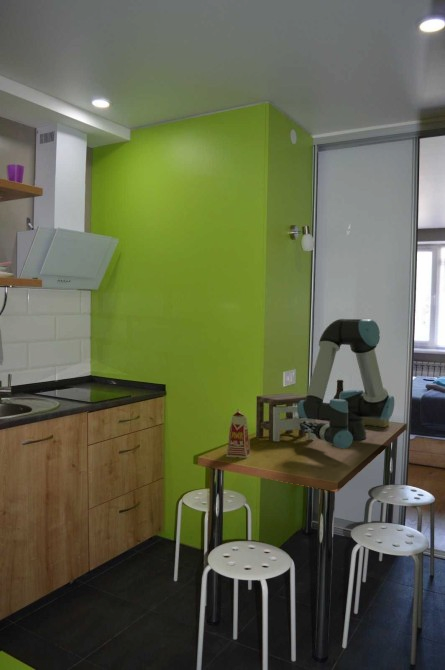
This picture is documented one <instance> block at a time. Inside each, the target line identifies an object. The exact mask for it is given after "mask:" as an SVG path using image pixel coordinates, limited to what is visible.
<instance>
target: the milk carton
mask: <svg viewBox="0 0 445 670" xmlns="http://www.w3.org/2000/svg"><path fill="white" fill-rule="evenodd" d="M228 433H229V434H228V443H227V444H228V445H227V450H226V455H225V457H226V458H236V457H239V458H240V459H248V458H249V457H250V455H251V445H250V437H249V428H248V421H247V417H246V416H245V415H244V414H243V413H241V411H240V409H239V408H237V411H236V412H235V413H234V414H233V415H232V416H231V420H230V426H229V431H228Z"/></svg>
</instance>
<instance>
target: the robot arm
mask: <svg viewBox="0 0 445 670" xmlns="http://www.w3.org/2000/svg"><path fill="white" fill-rule="evenodd" d="M380 334H381V332H380V328H379V325H378V324H377V322H376V321H375V320H373V319H367V318H361V319H359V318H339V319H336V320H334V321H333V322H331V323H330V324H329V325H328V326H327V327H326V328H325V329H324V331H322V334H321V336H320V338H319V340H318V346H319V350H318V354H317V357H316V360H315V365H314V368H313V371H312V375H311V379H310V382H309V386H308V390H307V393H306V395H305V396H306V399H305V400H301V401H300V402H299V403H298V405H297V413H298V415H299V416H300V417H302V418H307V419H315V423H312V422H311V423H309V422H307V421H305V420H298V426H300V429H301V430H303V431H304V432H305V433H306V434H308V433H309V432H311V433H314V434H315V438H317V439H318V440H321V441H323V442H326V443H327V444H329V445H332V446H335V447H336V448H340V449H347V448H349V447H351V446H352V443H353V441H358V440H360V441H361V440H365V439H367V432H366V428H365V425H364V424H363V417H366V418H373V419H380V420H382V419H383V420H388V419H389V420H390V419H391V417H392V416H393V413H394V410H395V398H394V396H393V395H389V392H388V390H387V389H386V388H385V387H384V386H383V380H382V377H381V372H380V368H379V367H380V366H379V363H378V360H377V359H378V358H377V354H376V348H377V345H378V344H379V343H380V340H381V339H380V338H381V336H380ZM342 345H345V346H346V345H347V346H349V347H350V350H351V352H352V353H354V354H355V357H356V361H357V365H358V369H359V373H360V377H361V382H362V387H363V389H364V390H363V389H348V390H343V391H342V392H340V394H339V399H333V398H332V399H330V400H329V402H324V398H325V395H326V391H327V388H328V384H329V381H330V377H331V373H332V370H333V365H334V362H335V358H336V354H337V352H338V351H340V349H341V346H342ZM316 420H317V421H323V422H316ZM326 422H328V423H326Z"/></svg>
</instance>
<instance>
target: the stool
mask: <svg viewBox="0 0 445 670" xmlns="http://www.w3.org/2000/svg"><path fill="white" fill-rule="evenodd" d="M306 396H307V395H305V394H298V393H294V392H293V393H292V392H287V393H286V392H285V393H277V394H266V395H265V394H264V395H257V396H256V410H255V411H256V412H255V413H256V416H255V417H256V418H255V420H256V423H255V425H256V426H255V427H256V429H255V431H256V433H255V435H256V438H264V430H267V431H268V441H269V442H274V441H273V407H277V406H293V404H295V403H299V402H300V401H301V400H305V399H306ZM265 404H267V405H268V420H264V413H265V412H264V410H265ZM292 418H293V412H285V418H284V419H292ZM299 418H302V417H300V416H299ZM293 432H294V430H285V433H286V434H287V433H288V434H293ZM306 434H307V433H305V432H304V431H303V430H298V436H300V437H305V436H306Z"/></svg>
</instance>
